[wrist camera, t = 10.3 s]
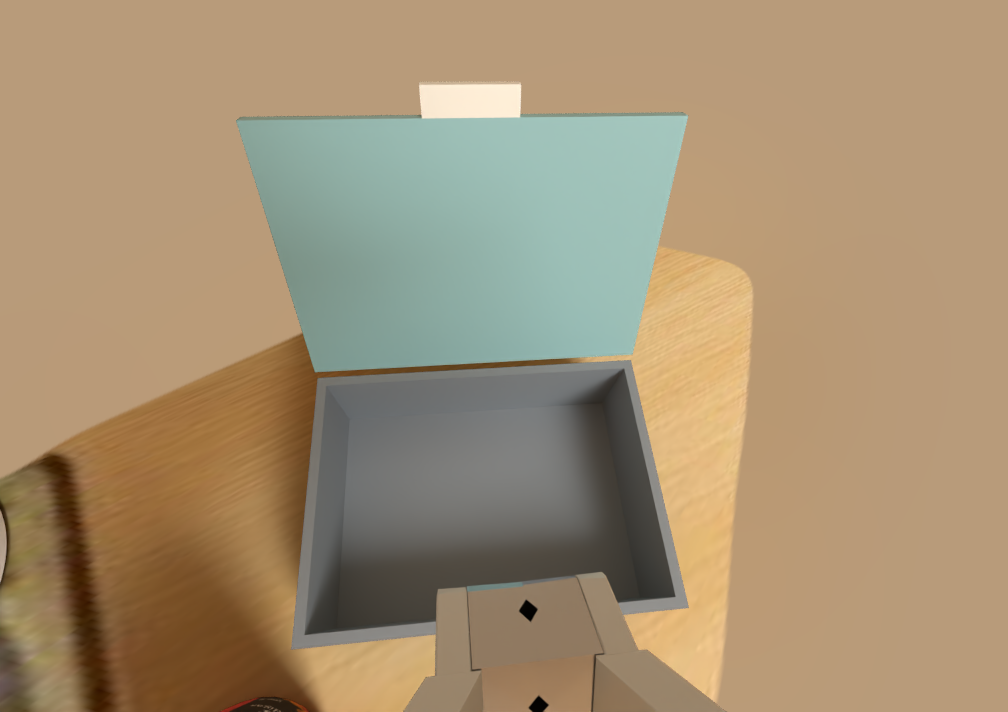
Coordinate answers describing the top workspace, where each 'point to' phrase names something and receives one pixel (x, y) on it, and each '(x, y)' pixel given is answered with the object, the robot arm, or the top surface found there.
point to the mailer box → (476, 495)
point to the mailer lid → (465, 227)
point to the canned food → (266, 706)
